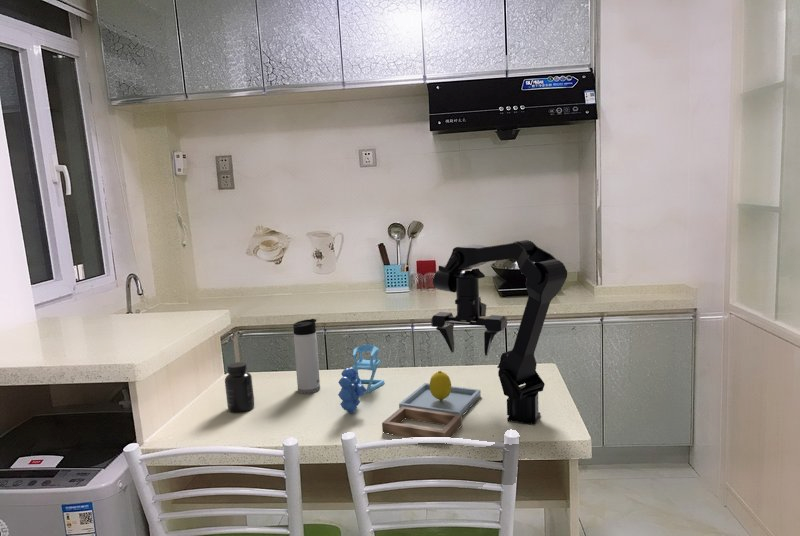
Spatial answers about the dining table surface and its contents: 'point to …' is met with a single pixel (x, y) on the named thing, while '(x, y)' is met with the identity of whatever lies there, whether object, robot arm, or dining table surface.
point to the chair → (367, 365)
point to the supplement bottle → (239, 388)
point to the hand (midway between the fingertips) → (469, 353)
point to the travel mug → (306, 356)
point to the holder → (404, 430)
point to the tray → (452, 404)
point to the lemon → (440, 385)
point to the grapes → (350, 389)
